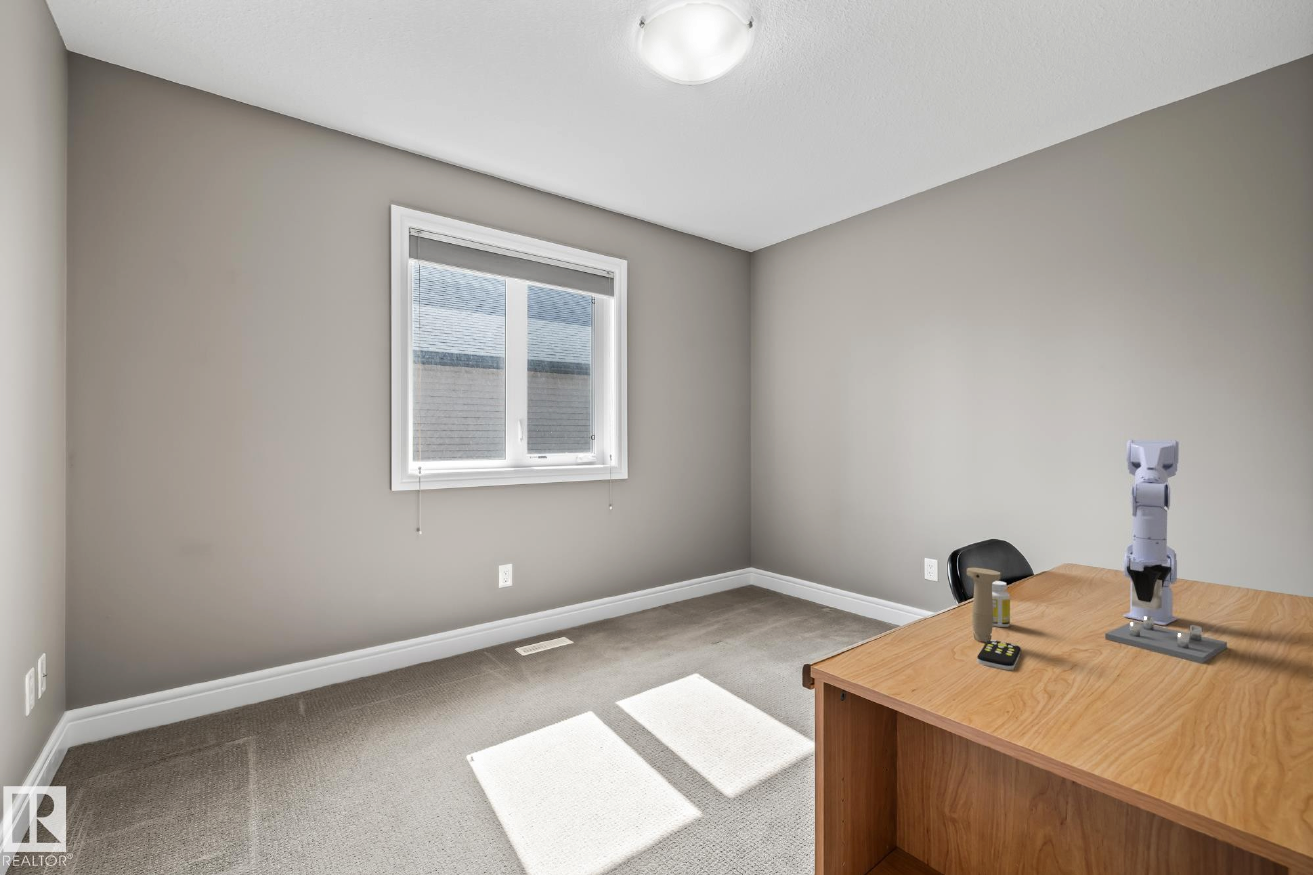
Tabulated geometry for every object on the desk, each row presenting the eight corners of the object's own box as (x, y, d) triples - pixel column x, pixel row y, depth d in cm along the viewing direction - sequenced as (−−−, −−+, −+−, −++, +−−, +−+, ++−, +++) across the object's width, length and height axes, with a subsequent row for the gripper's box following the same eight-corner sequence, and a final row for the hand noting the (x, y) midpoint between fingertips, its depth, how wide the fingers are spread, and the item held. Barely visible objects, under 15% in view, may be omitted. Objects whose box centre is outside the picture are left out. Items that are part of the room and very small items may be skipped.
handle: (973, 633, 130) (974, 566, 130) (1003, 642, 125) (1004, 572, 125) (961, 637, 127) (962, 569, 127) (992, 646, 122) (993, 575, 122)
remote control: (975, 665, 113) (975, 655, 113) (987, 646, 123) (987, 637, 123) (1012, 673, 109) (1012, 663, 109) (1021, 653, 119) (1021, 644, 119)
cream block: (1138, 603, 131) (1139, 576, 131) (1161, 607, 128) (1161, 580, 128) (1131, 605, 129) (1132, 578, 129) (1154, 610, 125) (1155, 582, 125)
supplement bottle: (1006, 621, 139) (1007, 580, 139) (1012, 628, 134) (1013, 586, 134) (981, 619, 141) (981, 578, 140) (985, 626, 135) (986, 584, 135)
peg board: (1133, 626, 136) (1133, 609, 136) (1226, 647, 123) (1227, 628, 123) (1105, 638, 128) (1105, 620, 128) (1202, 663, 114) (1202, 643, 114)
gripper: (1139, 532, 135) (1138, 590, 135) (1113, 537, 127) (1112, 599, 127) (1179, 536, 129) (1178, 598, 129) (1154, 542, 121) (1153, 608, 121)
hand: (1148, 599), depth 128 cm, fingers closed on cream block, 4 cm apart
